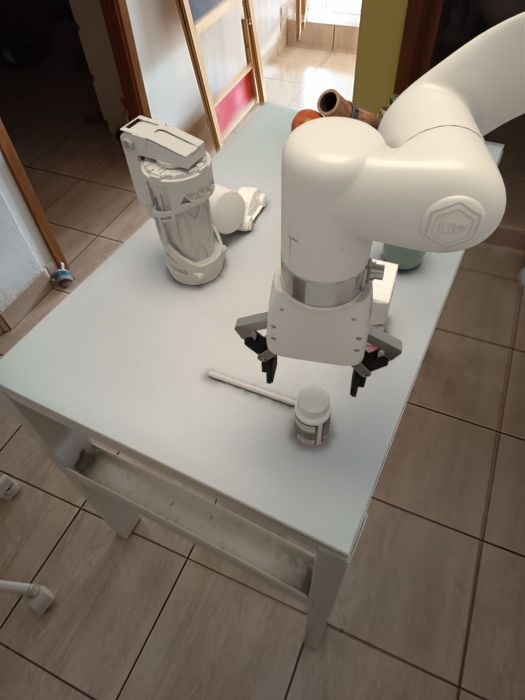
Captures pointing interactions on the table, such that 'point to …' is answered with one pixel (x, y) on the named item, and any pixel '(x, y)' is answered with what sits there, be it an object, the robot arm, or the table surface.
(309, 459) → the table surface
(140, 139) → the lantern
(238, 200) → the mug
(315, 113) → the apple
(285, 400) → the pencil
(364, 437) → the table surface
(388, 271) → the ink box
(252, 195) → the crumpled white lump
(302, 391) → the pill bottle
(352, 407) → the table surface
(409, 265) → the cup
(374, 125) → the drinking horn
